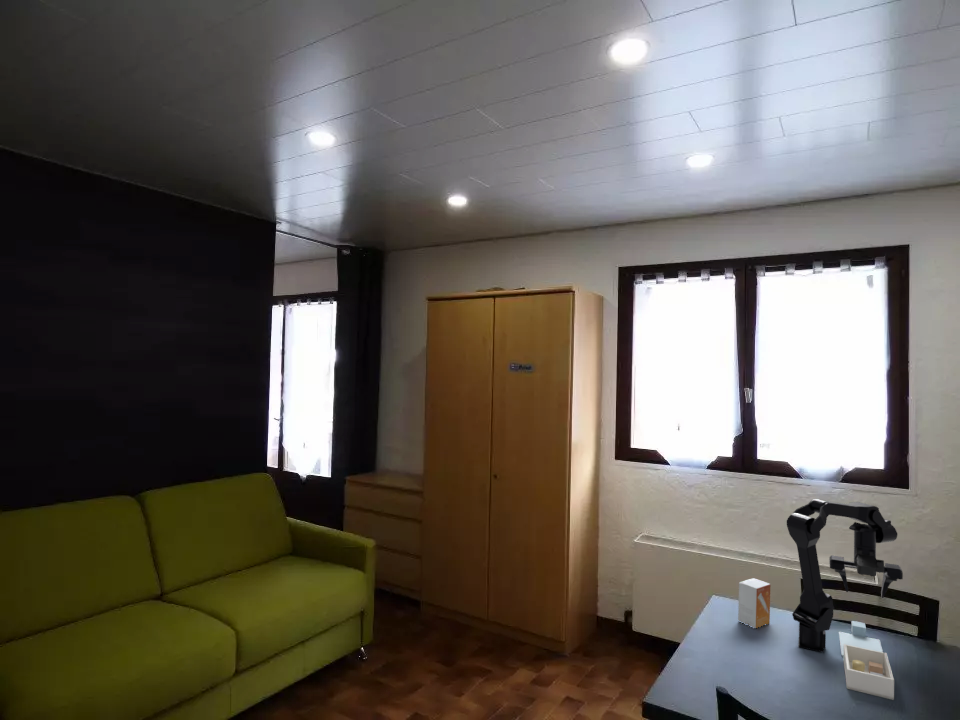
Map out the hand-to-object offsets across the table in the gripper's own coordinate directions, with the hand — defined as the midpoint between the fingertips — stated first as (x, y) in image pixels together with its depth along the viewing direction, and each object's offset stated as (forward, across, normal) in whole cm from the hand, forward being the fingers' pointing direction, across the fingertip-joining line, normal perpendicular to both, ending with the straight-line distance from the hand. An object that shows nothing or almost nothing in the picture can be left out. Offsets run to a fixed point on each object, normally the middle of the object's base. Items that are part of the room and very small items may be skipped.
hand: (864, 594), depth 182 cm
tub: (+12, -2, -30) cm, 33 cm away
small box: (+13, -30, -8) cm, 34 cm away
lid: (+13, -1, -9) cm, 16 cm away
